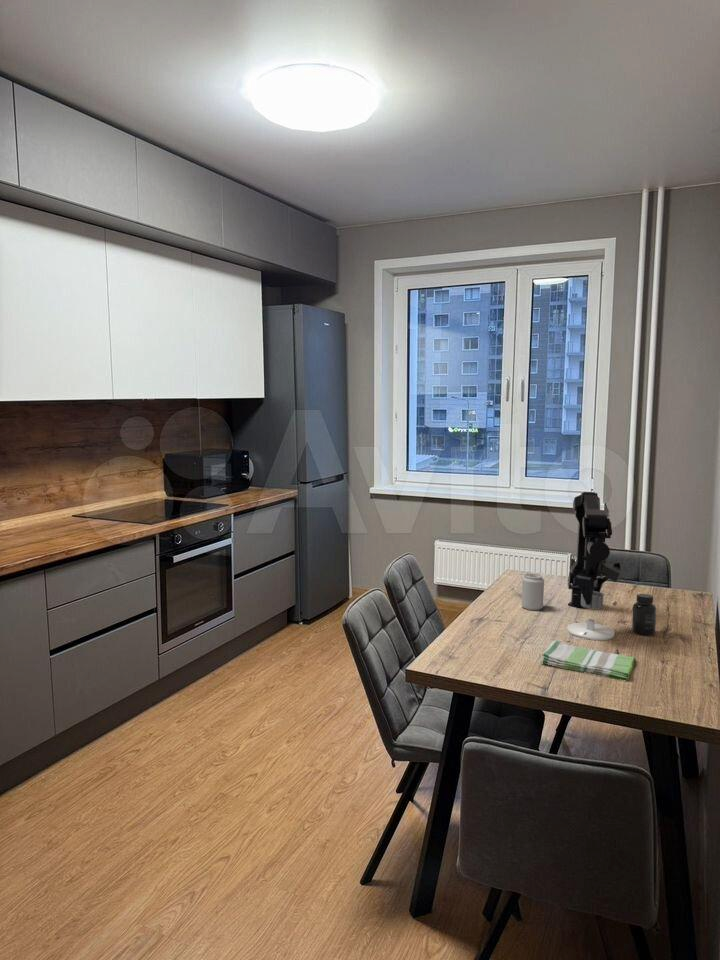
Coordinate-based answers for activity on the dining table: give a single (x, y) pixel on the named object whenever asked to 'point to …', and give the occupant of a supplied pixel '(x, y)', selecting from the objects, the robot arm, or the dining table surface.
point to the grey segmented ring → (593, 601)
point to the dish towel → (588, 660)
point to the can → (532, 591)
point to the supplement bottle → (644, 615)
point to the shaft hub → (590, 630)
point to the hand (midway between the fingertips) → (591, 602)
